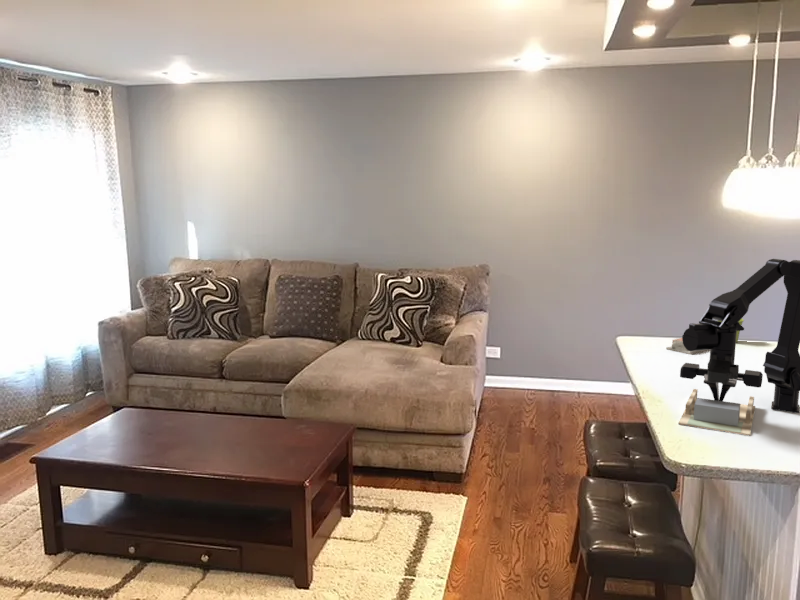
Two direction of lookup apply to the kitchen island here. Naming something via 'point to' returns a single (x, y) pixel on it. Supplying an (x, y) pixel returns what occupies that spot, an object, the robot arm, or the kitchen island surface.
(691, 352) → the packaged product
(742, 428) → the beige wooden tray
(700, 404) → the slate block
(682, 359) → the kitchen island surface
